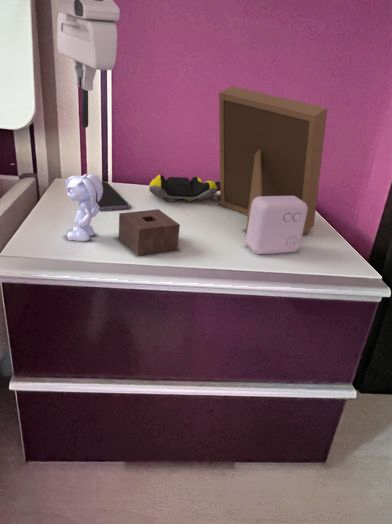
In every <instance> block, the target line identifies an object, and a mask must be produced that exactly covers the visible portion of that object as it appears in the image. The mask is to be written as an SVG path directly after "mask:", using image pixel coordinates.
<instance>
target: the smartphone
mask: <svg viewBox="0 0 392 524" xmlns="http://www.w3.org/2000/svg"><path fill="white" fill-rule="evenodd" d="M101 182H102V185H103V194H102V197H101V199H100V201H99V202H97V192H96V202H97V204H98V205H99V211H114V210H115V211H116V210H126V209H128V208H129V203H128V202H127V201H126V200H125V198H123V197H122V196H121V195H120V193H118V192H117V190H115V188H113V186H112V185H111V184H110V183H109V182H108V181H104V180H103V181H102V180H101ZM95 191H96V190H95Z"/></svg>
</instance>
